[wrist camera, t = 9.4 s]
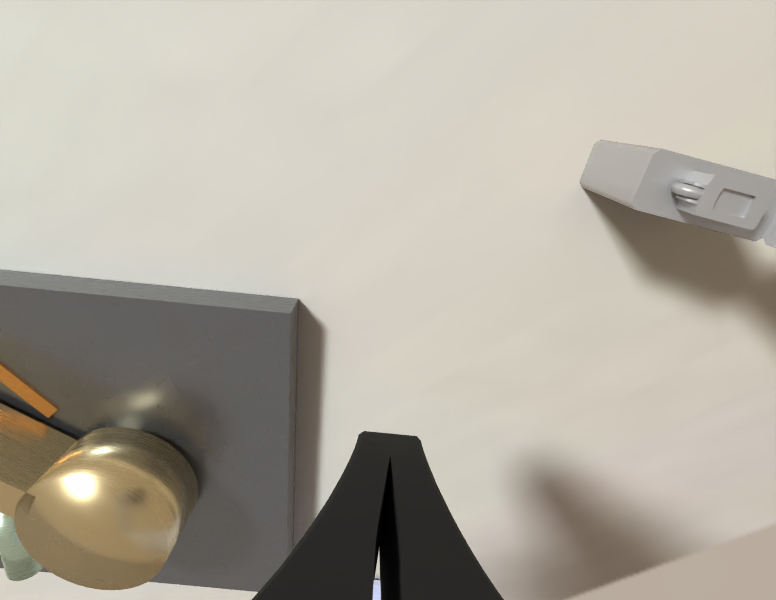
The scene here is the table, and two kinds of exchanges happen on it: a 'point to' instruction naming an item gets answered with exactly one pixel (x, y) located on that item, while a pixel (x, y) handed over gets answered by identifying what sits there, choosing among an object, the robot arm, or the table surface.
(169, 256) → the table surface
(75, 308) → the base plate
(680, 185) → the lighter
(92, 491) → the gold elongated piece
